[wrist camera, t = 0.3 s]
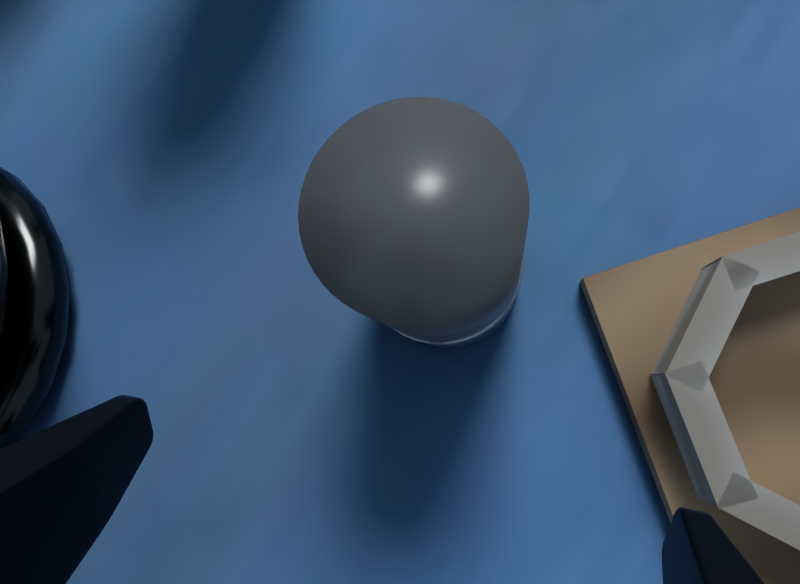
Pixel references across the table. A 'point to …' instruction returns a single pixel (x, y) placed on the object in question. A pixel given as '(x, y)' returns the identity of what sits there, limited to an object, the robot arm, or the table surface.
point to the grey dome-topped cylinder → (418, 219)
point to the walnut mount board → (716, 379)
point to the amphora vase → (28, 306)
